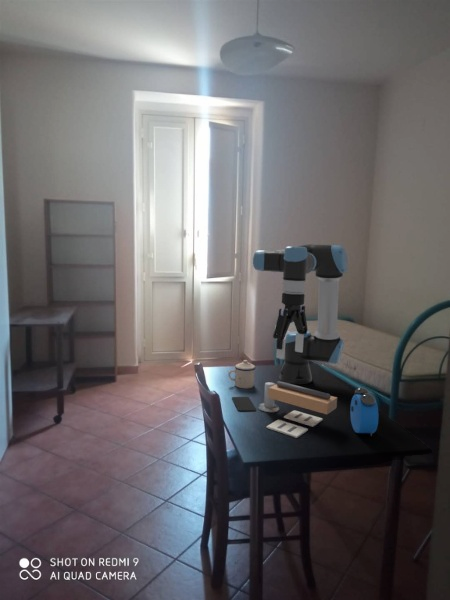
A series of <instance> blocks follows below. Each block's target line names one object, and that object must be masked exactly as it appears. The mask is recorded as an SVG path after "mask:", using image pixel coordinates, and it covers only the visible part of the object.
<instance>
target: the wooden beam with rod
mask: <svg viewBox="0 0 450 600" xmlns="http://www.w3.org/2000/svg"><path fill="white" fill-rule="evenodd" d="M263 396H264V397H263V403H264V406H265V407H267V408H272V407H274V404H275V401H278V402H281V403H286V404H289V405H293V406H295V407H298V408H303V409H307V410H309V411H313V412H317V413H320V414H322V415H328V414H331V412H333V411H334V410H336V409H337V406H338V405H337V404H338V397H337V396H333V395H331V394H330V393H327V392H322V391H319V390H315V389H311V388H307V387H303V386H300V385H297V384H291V383H286V382H284V381H282V380H279V381H278V380H277V382H276V383H275V382H265V383H264V395H263Z"/></svg>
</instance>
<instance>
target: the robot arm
mask: <svg viewBox="0 0 450 600" xmlns="http://www.w3.org/2000/svg"><path fill="white" fill-rule="evenodd" d="M347 255H348V254H347V252H346V248H344V247H343V246H342V245H335V244H301V245H295V246H286V247H285V248H284V249H277V250H266V249H263V250H256V251H255V252H254V254H253V257H252V266H253V268H254V269H255V270H256V271H261V272H274V273H275V272H276V273H277V272H278V273H283V274H282V275H283V276H282V283H281V284H282V294H281V304H282V305H284V308H279V309H278V317H277V320H276V325H275V328H274V332H273V335H272V337H273V339H275V340H276V351H275V352H276V356H275V359H279V360H283V361H284V362H283V365H282V367H281V370H280V372H279V381H281V382H284V383H288V384H292V385H307V384H310V383H311V382H312V380H313V379H312V378H313V377H312V371H311V367H310V361H313V362H316V363H317V362H318V363H325V364H332V365H336V364H338V363H339V362H340V360H341V357H342V353H343V349H344V344H345V341H344V339H342V338H341V333H339V331H338V316H339V315H338V314H339V313H338V309H339V288H340V282H339V281H340V280H341V278H344V277H343V275H344V274H345V273H347V269H348V256H347ZM311 272H315V278H317V279H318V297H317V298H318V302H317V303H318V304H317V330H316V331H314V333H313V335H312V333H311V331H310V330H308V323H307V317H306V316H307V315H306V306H305V305H304V304H305V298H306V297H305V296H306V295H305V294H304V293H305V292H306V278H307V276H306V275H307V274H310V273H311ZM292 323H294V326H295V329H296V330H295V331H289V332H288V329H289V327H290V324H292Z"/></svg>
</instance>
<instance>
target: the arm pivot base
mask: <svg viewBox="0 0 450 600" xmlns="http://www.w3.org/2000/svg"><path fill="white" fill-rule="evenodd" d="M258 410H260V412H264V413H270V414H272V413H276V412H279V411H280V406H279V405H278V404H276V403H274V407H272V408H267V407H265V406H264V402H263V403H259V404H258Z"/></svg>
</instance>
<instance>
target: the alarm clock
mask: <svg viewBox="0 0 450 600" xmlns="http://www.w3.org/2000/svg"><path fill="white" fill-rule="evenodd" d="M349 413H350V422H351V426H352V429H353V431H354V432H355V433H357V434H370V437H372V436H373V434H374V433H375V432H376V431H377V430H378V425H379V408H378V403H377V400H376V397H375V396H374V395H373V394H371V393H370V391H369V390H368V389H367V388H366V387H362V386H361V387H358V388H356V389H355V391H354V395H353V396H352V398H351V401H350V411H349Z"/></svg>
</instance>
